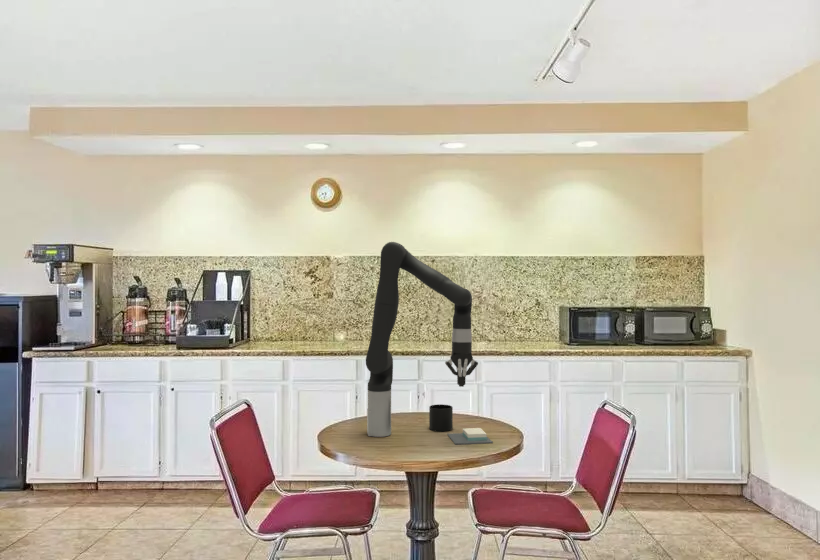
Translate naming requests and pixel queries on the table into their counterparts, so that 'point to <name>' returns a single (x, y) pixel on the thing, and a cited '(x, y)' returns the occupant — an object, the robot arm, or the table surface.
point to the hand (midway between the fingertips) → (461, 386)
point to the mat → (460, 439)
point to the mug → (440, 418)
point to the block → (474, 434)
